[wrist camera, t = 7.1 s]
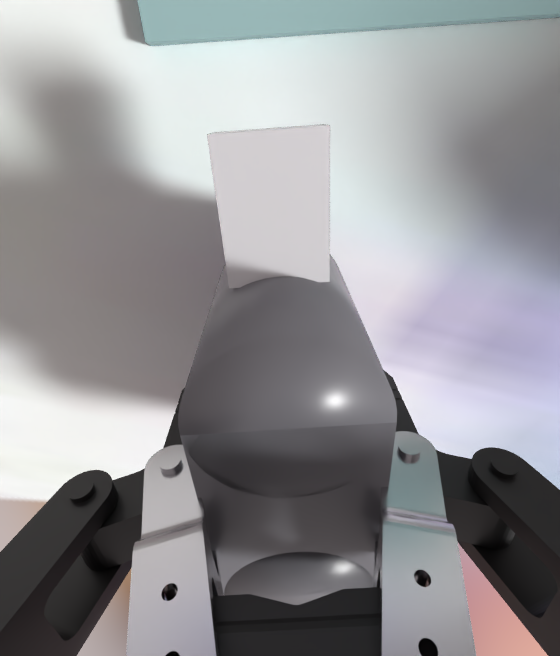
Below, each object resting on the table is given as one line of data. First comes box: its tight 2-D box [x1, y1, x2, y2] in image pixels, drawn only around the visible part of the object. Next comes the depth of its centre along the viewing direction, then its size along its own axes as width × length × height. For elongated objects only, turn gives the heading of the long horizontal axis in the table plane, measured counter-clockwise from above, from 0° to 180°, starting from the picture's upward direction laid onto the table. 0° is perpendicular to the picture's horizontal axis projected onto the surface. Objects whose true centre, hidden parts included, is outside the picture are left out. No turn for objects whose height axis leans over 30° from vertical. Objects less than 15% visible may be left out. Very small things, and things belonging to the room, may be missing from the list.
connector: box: [178, 124, 397, 605], centre depth 10 cm, size 4×13×6 cm, turn 4°
